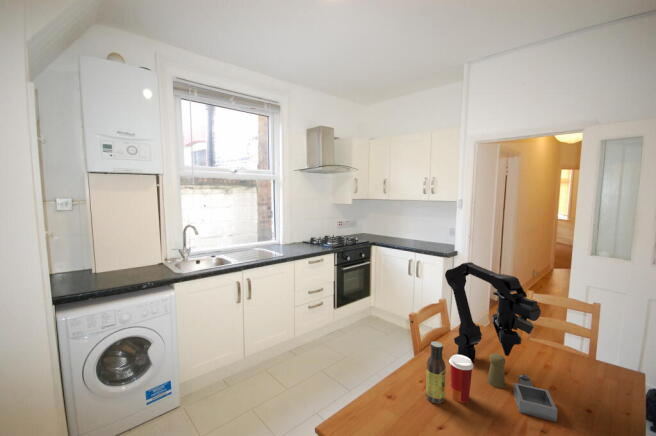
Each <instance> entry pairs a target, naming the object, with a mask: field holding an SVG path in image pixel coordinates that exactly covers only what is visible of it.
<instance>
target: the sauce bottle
mask: <svg viewBox="0 0 656 436" xmlns="http://www.w3.org/2000/svg"><path fill="white" fill-rule="evenodd" d="M430 349H431V350H430V356H429V358H428V359H427V361H426V374H425V375H426V376H425V377H426V378H425V380H426V381H425V396H426V398H427V400H428V401H429V402H431V403H433V404H434V403H435V404H441V403H443V402H444V401H445V397H446V396H445V395H446V374H447V373H446V371H447V370H446V369H447V368H446V367H447V366H446V362H445V360H444V359H443V350H444V345H443V343H441V342H440V341H431V342H430Z"/></svg>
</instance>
